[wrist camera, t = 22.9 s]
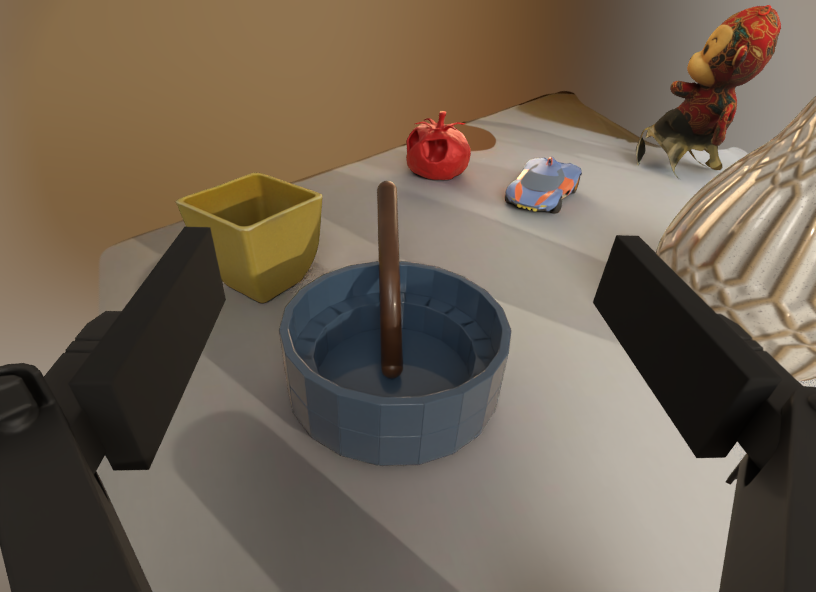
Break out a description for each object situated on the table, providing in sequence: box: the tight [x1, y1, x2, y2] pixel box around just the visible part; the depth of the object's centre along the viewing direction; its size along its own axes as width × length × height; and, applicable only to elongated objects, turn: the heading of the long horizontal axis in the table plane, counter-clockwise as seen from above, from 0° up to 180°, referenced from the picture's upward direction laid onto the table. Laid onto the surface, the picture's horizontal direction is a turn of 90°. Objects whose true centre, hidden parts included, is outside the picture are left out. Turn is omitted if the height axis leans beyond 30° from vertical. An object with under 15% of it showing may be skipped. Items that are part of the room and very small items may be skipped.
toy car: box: [505, 157, 582, 213], centre depth 64 cm, size 8×15×5 cm, turn 151°
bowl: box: [279, 261, 511, 466], centre depth 33 cm, size 15×15×6 cm
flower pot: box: [176, 173, 322, 303], centre depth 42 cm, size 9×9×9 cm
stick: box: [377, 181, 403, 379], centre depth 36 cm, size 2×2×16 cm
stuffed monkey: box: [636, 5, 781, 179], centre depth 70 cm, size 15×17×25 cm
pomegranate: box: [406, 111, 471, 180], centre depth 69 cm, size 10×10×9 cm
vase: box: [656, 96, 816, 381], centre depth 34 cm, size 16×16×20 cm
